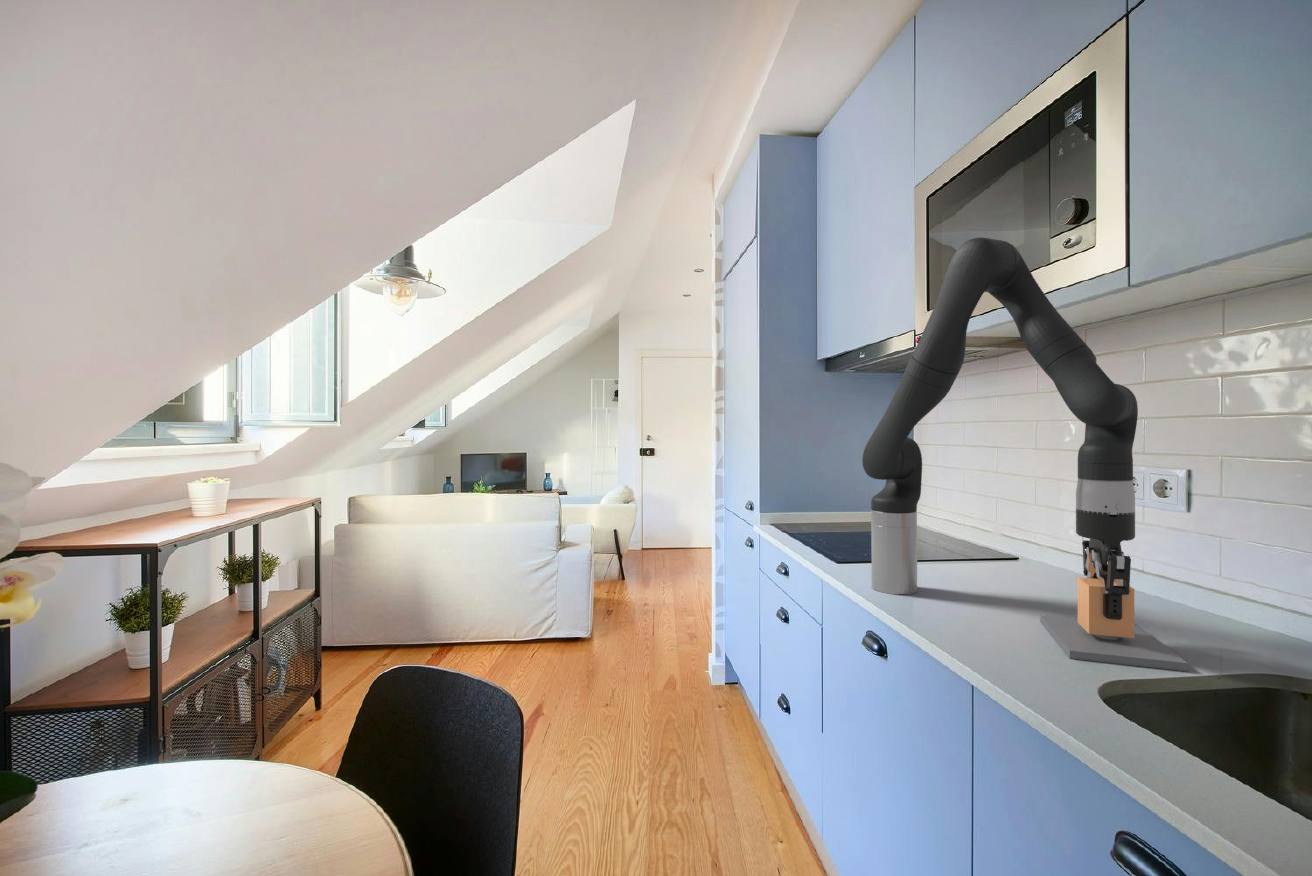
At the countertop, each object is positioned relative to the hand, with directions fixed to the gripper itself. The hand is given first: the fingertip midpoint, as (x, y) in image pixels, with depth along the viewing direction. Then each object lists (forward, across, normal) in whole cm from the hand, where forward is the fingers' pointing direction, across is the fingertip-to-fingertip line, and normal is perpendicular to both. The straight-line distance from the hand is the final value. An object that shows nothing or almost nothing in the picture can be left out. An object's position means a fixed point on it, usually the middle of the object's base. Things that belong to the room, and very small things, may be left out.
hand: (1105, 612), depth 93 cm
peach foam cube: (+3, 0, 0) cm, 3 cm away
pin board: (+5, 0, 0) cm, 5 cm away
